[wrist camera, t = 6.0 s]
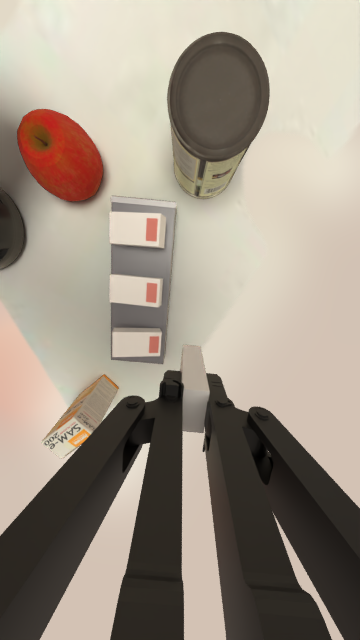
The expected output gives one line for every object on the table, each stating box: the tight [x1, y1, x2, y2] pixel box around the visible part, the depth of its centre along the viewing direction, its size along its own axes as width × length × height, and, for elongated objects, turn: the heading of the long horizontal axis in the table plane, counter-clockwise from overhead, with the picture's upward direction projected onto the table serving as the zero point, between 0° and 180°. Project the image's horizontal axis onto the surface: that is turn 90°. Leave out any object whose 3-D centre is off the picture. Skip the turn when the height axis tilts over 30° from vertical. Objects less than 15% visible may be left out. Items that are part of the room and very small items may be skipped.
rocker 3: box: [112, 328, 162, 357], centre depth 36 cm, size 8×4×2 cm, turn 85°
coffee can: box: [167, 32, 269, 199], centre depth 27 cm, size 10×10×14 cm
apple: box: [17, 109, 103, 201], centre depth 30 cm, size 10×10×10 cm
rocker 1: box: [109, 212, 166, 248], centre depth 31 cm, size 8×4×3 cm, turn 85°
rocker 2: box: [110, 274, 163, 307], centre depth 33 cm, size 8×4×3 cm, turn 85°
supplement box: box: [41, 375, 119, 459], centre depth 39 cm, size 8×5×13 cm, turn 130°
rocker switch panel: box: [111, 196, 177, 364], centre depth 37 cm, size 10×28×5 cm, turn 175°
